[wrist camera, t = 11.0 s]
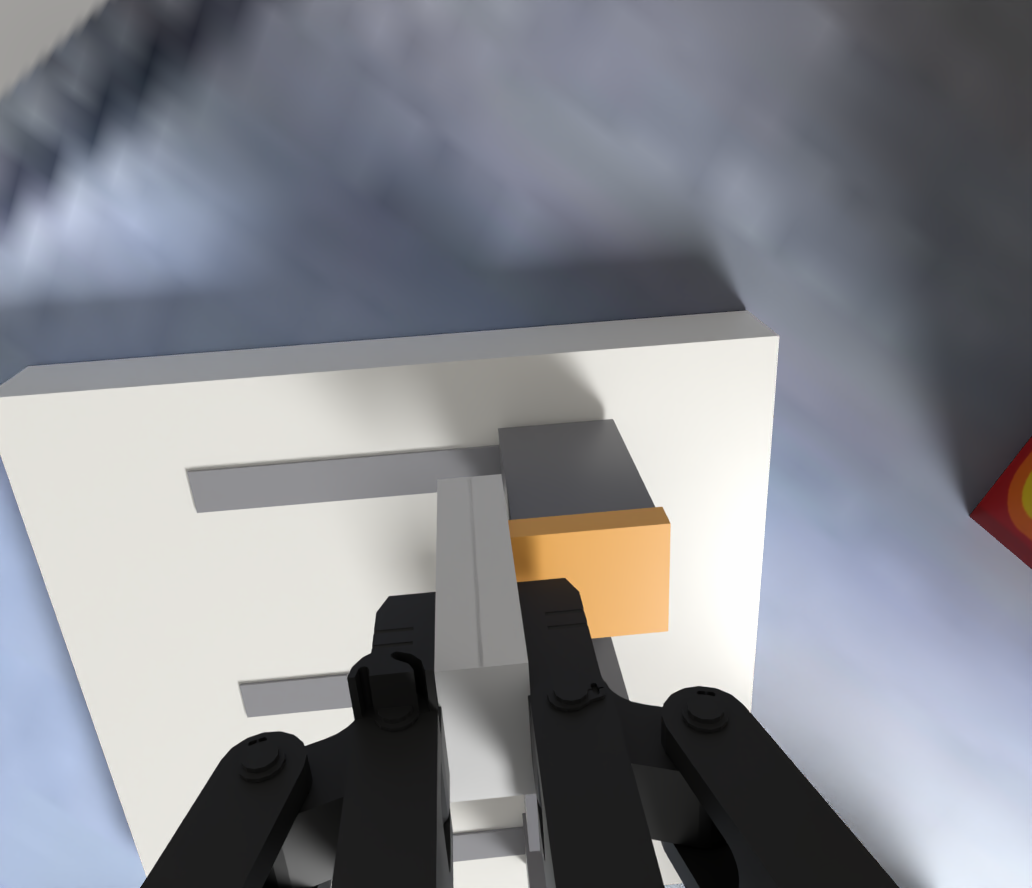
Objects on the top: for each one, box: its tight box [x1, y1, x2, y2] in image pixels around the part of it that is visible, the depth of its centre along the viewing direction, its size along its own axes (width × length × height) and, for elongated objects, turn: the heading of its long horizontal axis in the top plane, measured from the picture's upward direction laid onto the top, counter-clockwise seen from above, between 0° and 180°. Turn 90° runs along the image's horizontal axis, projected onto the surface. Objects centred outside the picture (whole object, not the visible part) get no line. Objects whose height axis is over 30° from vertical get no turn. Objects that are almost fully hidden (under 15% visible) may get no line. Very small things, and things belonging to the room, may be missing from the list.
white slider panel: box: [0, 310, 779, 888], centre depth 24 cm, size 20×20×8 cm
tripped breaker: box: [498, 419, 671, 639], centre depth 19 cm, size 3×3×6 cm
